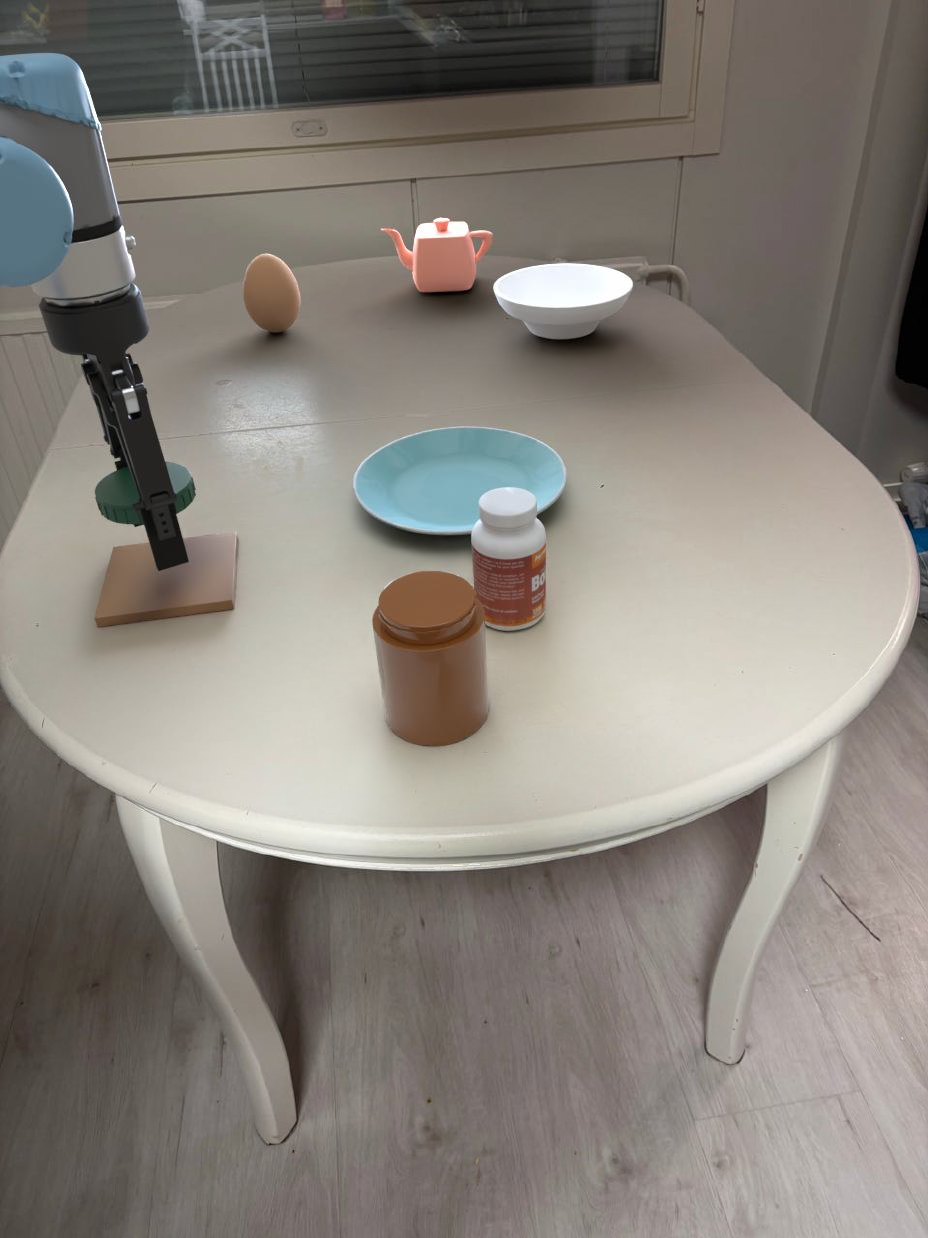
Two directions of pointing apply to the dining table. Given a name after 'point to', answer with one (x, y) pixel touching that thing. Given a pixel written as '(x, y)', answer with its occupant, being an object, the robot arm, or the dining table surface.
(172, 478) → the jar lid
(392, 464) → the plate
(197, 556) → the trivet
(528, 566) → the pill bottle
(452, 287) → the teapot
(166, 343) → the dining table surface
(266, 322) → the egg
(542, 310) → the bowl
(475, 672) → the jam jar
